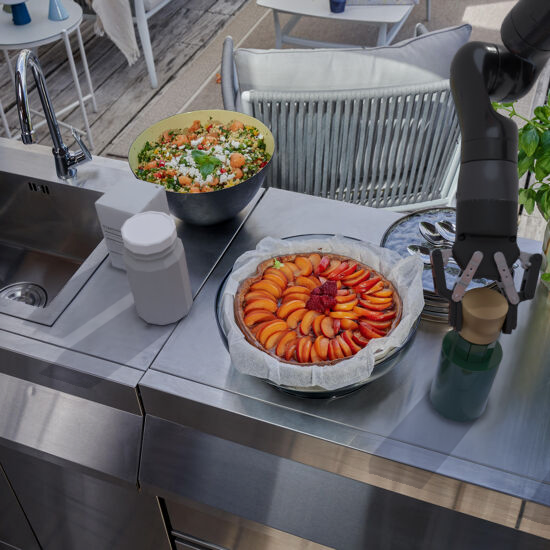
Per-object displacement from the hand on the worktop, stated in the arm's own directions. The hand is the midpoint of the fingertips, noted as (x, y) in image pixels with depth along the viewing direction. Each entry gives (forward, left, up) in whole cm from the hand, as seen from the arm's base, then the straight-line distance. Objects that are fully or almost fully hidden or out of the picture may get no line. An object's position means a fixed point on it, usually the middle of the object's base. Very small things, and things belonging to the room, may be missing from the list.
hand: (481, 332), depth 81 cm
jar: (+48, -16, -18) cm, 54 cm away
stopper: (0, -2, -5) cm, 5 cm away
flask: (0, -2, -17) cm, 17 cm away
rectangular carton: (+55, -28, -18) cm, 64 cm away
